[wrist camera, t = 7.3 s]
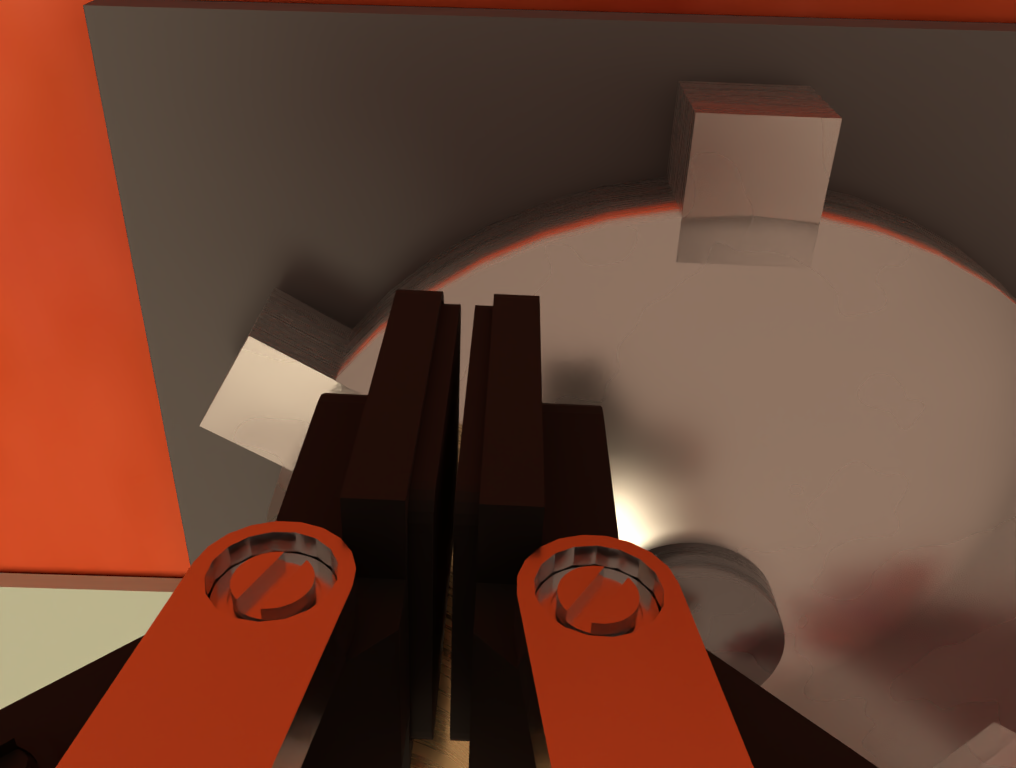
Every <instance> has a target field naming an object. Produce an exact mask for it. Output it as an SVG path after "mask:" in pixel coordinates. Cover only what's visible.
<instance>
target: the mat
mask: <svg viewBox="0 0 1016 768" xmlns="http://www.w3.org/2000/svg"><path fill="white" fill-rule="evenodd" d="M181 580H182V578H154V577H121V576H88V575H55V574H22V573H0V709H2V708H4V707H6V706H8V705H10V704H12V703H14V702H16V701H18V700H20V699H21V698H23V697H25V696H27V695H29V694H31V693H33V692H35V691H37V690H39V689H41V688H43V687H45V686H47V685H49V684H50V683H52V682H54V681H56V680H58V679H60V678H62V677H64V676H66V675H68V674H70V673H72V672H74V671H76V670H78V669H79V668H81V667H83V666H85V665H87V664H89V663H91V662H93V661H95V660H97V659H99V658H101V657H103V656H105V655H107V654H108V653H110V652H112V651H114V650H116V649H118V648H120V647H122V646H124V645H126V644H128V643H130V642H132V641H134V640H136V639H138V638H139V637H141V636H143V635H145V634H146V632H147V631H148V629H149V628H150V626H151V625H152V623H153V622H154V620H155V619H156V617H157V616H158V614H159V613H160V611H161V610H162V608H163V607H164V605H165V604H166V602H167V601H168V599H169V598H170V596H171V595H172V593H173V592H174V590H175V589H176V587H177V586H178V584H179V583H180V581H181Z"/></svg>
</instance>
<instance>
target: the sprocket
mask: <svg viewBox="0 0 1016 768" xmlns="http://www.w3.org/2000/svg"><path fill="white" fill-rule="evenodd" d="M841 121H842V118H841V117H840V116H839V115H838V114H837V113H836V112H835V111H834V110H833V109H832V108H831V107H830V106H829V105H828V104H827V103H826V102H825V101H824V100H823V99H822V98H821V97H820V96H819V95H818V94H817V93H816V92H815V91H814V90H813V89H812V88H811V87H810V86H799V85H774V84H749V83H724V82H699V81H678V89H677V97H676V105H675V113H674V121H673V130H672V138H671V146H670V154H669V162H668V170H667V177H659V178H653V179H646V180H639V181H633V182H626V183H619V184H612V185H606V186H601V187H597V188H594V189H590V190H586V191H583V192H579V193H576V194H572V195H568V196H565V197H561V198H558V199H554V200H551V201H547V202H543V203H541V204H538V205H536V206H533V207H531V208H529V209H526V210H524V211H521V212H519V213H517V214H514V215H512V216H510V217H507V218H505V219H502V220H500V221H498V222H495V223H493V224H491V225H488V226H486V227H484V228H482V229H480V230H479V231H477V232H475V233H474V234H472V235H470V236H468V237H467V238H465V239H463V240H462V241H460V242H458V243H456V244H455V245H453V246H451V247H449V248H448V249H446V250H444V251H443V252H441V253H439V254H437V255H436V256H434V257H433V258H431V259H430V260H429V261H428V262H426V263H425V264H424V265H422V266H421V267H420V268H419V269H417V270H416V271H415V272H413V273H412V274H411V275H410V276H408V277H407V278H406V279H404V280H403V281H402V282H401V283H399V284H398V285H397V286H395V287H394V288H393V289H391V290H390V291H389V292H388V293H387V294H386V295H385V296H384V297H383V298H382V299H381V300H380V301H379V302H378V304H377V305H376V306H375V307H374V308H373V309H372V310H371V311H370V312H369V313H368V314H367V315H366V316H365V317H364V318H363V319H362V320H361V321H360V322H359V323H358V324H357V325H356V326H355V327H354V328H353V329H352V328H350V327H348V326H346V325H344V324H342V323H340V322H339V321H337V320H335V319H333V318H331V317H329V316H327V315H326V314H324V313H322V312H320V311H318V310H316V309H314V308H312V307H311V306H309V305H307V304H305V303H303V302H301V301H299V300H298V299H296V298H294V297H292V296H290V295H288V294H286V293H284V292H283V291H281V290H279V289H277V288H274V289H273V291H272V293H271V295H270V297H269V298H268V300H267V302H266V304H265V306H264V308H263V309H262V311H261V313H260V315H259V317H258V318H257V320H256V322H255V324H254V326H253V328H252V329H251V331H250V333H249V335H248V337H247V338H246V340H245V342H244V344H243V346H242V347H241V349H240V351H239V353H238V355H237V357H236V358H235V360H234V362H233V364H232V366H231V367H230V369H229V371H228V373H227V375H226V377H225V379H224V381H223V382H222V384H221V386H220V388H219V390H218V392H217V394H216V396H215V398H214V399H213V401H212V403H211V405H210V407H209V409H208V411H207V413H206V415H205V416H204V418H203V420H202V422H201V424H200V427H203V428H205V429H207V430H209V431H211V432H213V433H215V434H217V435H219V436H221V437H223V438H225V439H227V440H229V441H231V442H234V443H236V444H238V445H240V446H242V447H244V448H246V449H248V450H250V451H252V452H254V453H256V454H258V455H260V456H262V457H264V458H267V459H269V460H271V461H273V462H275V463H277V464H279V465H281V466H282V468H281V472H280V475H279V478H278V481H277V484H276V487H275V491H274V494H273V497H272V500H271V503H270V506H269V509H268V515H267V522H266V523H268V522H275V521H276V519H277V516H278V513H279V510H280V507H281V505H282V502H283V499H284V496H285V493H286V490H287V488H288V485H289V482H290V479H291V476H292V473H293V470H294V468H295V465H296V462H297V459H298V456H299V453H300V451H301V448H302V445H303V442H304V439H305V436H306V433H307V431H308V428H309V425H310V422H311V419H312V416H313V414H314V411H315V408H316V405H317V402H318V400H319V398H320V396H321V394H323V393H338V394H359V395H368V392H369V388H370V385H371V381H372V377H373V374H374V370H375V366H376V363H377V359H378V355H379V351H380V348H381V344H382V340H383V337H384V333H385V329H386V326H387V322H388V318H389V315H390V311H391V307H392V304H393V300H394V296H395V292H396V290H397V289H402V290H424V291H443V293H444V304H461V344H460V394H459V445H458V462H459V452H460V443H461V433H462V424H463V414H464V405H465V395H466V386H467V376H468V367H469V358H470V348H471V339H472V329H473V320H474V310H475V305H485V306H493V299H494V294H510V295H531V296H540V329H541V372H542V403H556V404H578V405H600V406H601V407H602V409H603V414H604V421H605V430H606V438H607V446H608V454H609V462H610V470H611V478H612V486H613V495H614V503H615V511H616V519H617V527H618V535H619V539H621V540H624V541H628V542H631V543H633V544H635V545H637V546H639V547H641V548H643V549H645V550H647V551H649V552H652V553H653V554H654V555H655V556H656V557H657V558H659V559H660V560H661V561H662V562H663V563H664V564H666V565H667V566H668V567H669V569H670V570H671V572H672V573H673V575H674V576H675V578H676V580H677V581H678V583H679V585H680V587H681V590H682V592H683V595H684V597H685V599H686V602H687V604H688V607H689V609H690V612H691V614H692V617H693V619H694V622H695V624H696V627H697V629H698V632H699V634H700V636H701V639H702V641H703V644H704V646H705V649H707V650H708V651H710V652H711V653H713V654H714V655H716V656H717V657H718V658H720V659H721V660H723V661H724V662H726V663H727V664H729V665H730V666H732V667H733V668H734V669H736V670H737V671H739V672H740V673H742V674H743V675H745V676H746V677H748V678H749V679H750V680H752V681H753V682H755V683H756V684H758V685H759V686H761V687H762V688H764V689H765V690H766V691H768V692H769V693H771V694H772V695H774V696H775V697H777V698H778V699H780V700H781V701H782V702H784V703H785V704H787V705H788V706H790V707H791V708H793V709H794V710H796V711H797V712H798V713H800V714H801V715H803V716H804V717H806V718H807V719H809V720H810V721H812V722H813V723H814V724H816V725H817V726H819V727H820V728H822V729H823V730H825V731H826V732H828V733H829V734H830V735H832V736H833V737H835V738H836V739H838V740H839V741H841V742H842V743H844V744H845V745H846V746H848V747H849V748H851V749H852V750H854V751H855V752H857V753H858V754H860V755H861V756H862V757H864V758H865V759H867V760H868V761H870V762H871V763H873V764H874V765H876V766H877V767H878V768H1016V298H1015V297H1014V296H1013V295H1012V294H1011V293H1010V292H1009V291H1008V290H1007V289H1006V288H1005V287H1004V286H1003V285H1002V284H1001V283H1000V282H999V281H998V280H997V279H996V278H995V277H993V276H992V275H991V274H990V273H988V272H987V271H986V270H985V269H984V268H982V267H981V266H980V265H979V264H977V263H976V262H975V261H974V260H972V259H971V258H970V257H969V256H967V255H966V254H965V253H964V252H963V251H961V250H960V249H959V248H958V247H956V246H955V245H954V244H952V243H950V242H948V241H947V240H945V239H943V238H941V237H940V236H938V235H936V234H934V233H933V232H931V231H929V230H928V229H926V228H924V227H922V226H921V225H919V224H917V223H915V222H914V221H912V220H910V219H908V218H907V217H904V216H902V215H899V214H897V213H894V212H892V211H889V210H887V209H884V208H881V207H879V206H876V205H874V204H871V203H869V202H866V201H864V200H861V199H859V198H856V197H854V196H851V195H846V194H842V193H838V192H834V191H830V190H827V187H828V183H829V178H830V173H831V168H832V164H833V159H834V154H835V150H836V145H837V140H838V136H839V131H840V126H841ZM452 582H453V552H452V562H451V572H450V582H449V592H448V602H447V612H446V621H445V631H444V641H443V651H442V661H441V671H440V681H439V691H438V701H437V710H436V720H435V730H434V737H433V740H426V739H414V740H413V749H412V757H411V765H410V768H469V742H470V741H450V696H451V639H452Z"/></svg>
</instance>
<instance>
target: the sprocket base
mask: <svg viewBox="0 0 1016 768" xmlns="http://www.w3.org/2000/svg"><path fill="white" fill-rule="evenodd" d="M83 7H84V12H85V18H86V23H87V28H88V33H89V38H90V44H91V49H92V54H93V59H94V65H95V70H96V75H97V80H98V85H99V91H100V96H101V101H102V106H103V112H104V117H105V122H106V127H107V132H108V138H109V143H110V148H111V153H112V159H113V164H114V169H115V174H116V179H117V185H118V190H119V195H120V200H121V205H122V211H123V216H124V221H125V226H126V232H127V237H128V242H129V247H130V252H131V258H132V263H133V268H134V273H135V279H136V284H137V289H138V294H139V299H140V305H141V310H142V315H143V320H144V326H145V331H146V336H147V341H148V346H149V352H150V357H151V362H152V367H153V372H154V378H155V383H156V388H157V393H158V399H159V404H160V409H161V414H162V419H163V425H164V430H165V435H166V440H167V446H168V451H169V456H170V461H171V466H172V472H173V477H174V482H175V487H176V492H177V498H178V503H179V508H180V513H181V519H182V524H183V529H184V534H185V539H186V545H187V550H188V555H189V560H190V566H191V565H192V564H193V562H194V561H195V560H196V559H197V558H198V557H199V556H200V555H201V553H202V552H203V551H204V550H205V549H206V548H207V547H208V546H209V545H211V544H213V543H214V542H216V541H217V540H219V539H220V538H222V537H224V536H225V535H227V534H228V533H231V532H234V531H237V530H240V529H242V528H245V527H248V526H251V525H255V524H262V523H266V522H267V515H268V509H269V506H270V503H271V500H272V497H273V494H274V491H275V487H276V484H277V481H278V478H279V475H280V472H281V468H282V466H281V465H279V464H277V463H275V462H273V461H271V460H269V459H267V458H264V457H262V456H260V455H258V454H256V453H254V452H252V451H250V450H248V449H246V448H244V447H242V446H240V445H238V444H236V443H234V442H231V441H229V440H227V439H225V438H223V437H221V436H219V435H217V434H215V433H213V432H211V431H209V430H207V429H205V428H203V427H200V424H201V422H202V420H203V418H204V416H205V415H206V413H207V411H208V409H209V407H210V405H211V403H212V401H213V399H214V398H215V396H216V394H217V392H218V390H219V388H220V386H221V384H222V382H223V381H224V379H225V377H226V375H227V373H228V371H229V369H230V367H231V366H232V364H233V362H234V360H235V358H236V357H237V355H238V353H239V351H240V349H241V347H242V346H243V344H244V342H245V340H246V338H247V337H248V335H249V333H250V331H251V329H252V328H253V326H254V324H255V322H256V320H257V318H258V317H259V315H260V313H261V311H262V309H263V308H264V306H265V304H266V302H267V300H268V298H269V297H270V295H271V293H272V291H273V289H274V288H277V289H279V290H281V291H283V292H284V293H286V294H288V295H290V296H292V297H294V298H296V299H298V300H299V301H301V302H303V303H305V304H307V305H309V306H311V307H312V308H314V309H316V310H318V311H320V312H322V313H324V314H326V315H327V316H329V317H331V318H333V319H335V320H337V321H339V322H340V323H342V324H344V325H346V326H348V327H350V328H352V329H353V328H354V327H355V326H356V325H357V324H358V323H359V322H360V321H361V320H362V319H363V318H364V317H365V316H366V315H367V314H368V313H369V312H370V311H371V310H372V309H373V308H374V307H375V306H376V305H377V304H378V302H379V301H380V300H381V299H382V298H383V297H384V296H385V295H386V294H387V293H388V292H389V291H390V290H391V289H393V288H394V287H395V286H397V285H398V284H399V283H401V282H402V281H403V280H404V279H406V278H407V277H408V276H410V275H411V274H412V273H413V272H415V271H416V270H417V269H419V268H420V267H421V266H422V265H424V264H425V263H426V262H428V261H429V260H430V259H431V258H433V257H434V256H436V255H437V254H439V253H441V252H443V251H444V250H446V249H448V248H449V247H451V246H453V245H455V244H456V243H458V242H460V241H462V240H463V239H465V238H467V237H468V236H470V235H472V234H474V233H475V232H477V231H479V230H480V229H482V228H484V227H486V226H488V225H491V224H493V223H495V222H498V221H500V220H502V219H505V218H507V217H510V216H512V215H514V214H517V213H519V212H521V211H524V210H526V209H529V208H531V207H533V206H536V205H538V204H541V203H543V202H547V201H551V200H554V199H558V198H561V197H565V196H568V195H572V194H576V193H579V192H583V191H586V190H590V189H594V188H597V187H601V186H606V185H612V184H619V183H626V182H633V181H639V180H646V179H653V178H659V177H667V170H668V162H669V154H670V146H671V138H672V130H673V121H674V113H675V105H676V97H677V89H678V81H699V82H724V83H749V84H774V85H799V86H810V87H811V88H812V89H813V90H814V91H815V92H816V93H817V94H818V95H819V96H820V97H821V98H822V99H823V100H824V101H825V102H826V103H827V104H828V105H829V106H830V107H831V108H832V109H833V110H834V111H835V112H836V113H837V114H838V115H839V116H840V117H841V118H842V121H841V126H840V131H839V136H838V140H837V145H836V150H835V154H834V159H833V164H832V168H831V173H830V178H829V183H828V187H827V190H830V191H834V192H838V193H842V194H846V195H851V196H854V197H856V198H859V199H861V200H864V201H866V202H869V203H871V204H874V205H876V206H879V207H881V208H884V209H887V210H889V211H892V212H894V213H897V214H899V215H902V216H904V217H907V218H908V219H910V220H912V221H914V222H915V223H917V224H919V225H921V226H922V227H924V228H926V229H928V230H929V231H931V232H933V233H934V234H936V235H938V236H940V237H941V238H943V239H945V240H947V241H948V242H950V243H952V244H954V245H955V246H956V247H958V248H959V249H960V250H961V251H963V252H964V253H965V254H966V255H967V256H969V257H970V258H971V259H972V260H974V261H975V262H976V263H977V264H979V265H980V266H981V267H982V268H984V269H985V270H986V271H987V272H988V273H990V274H991V275H992V276H993V277H995V278H996V279H997V280H998V281H999V282H1000V283H1001V284H1002V285H1003V286H1004V287H1005V288H1006V289H1007V290H1008V291H1009V292H1010V293H1011V294H1012V295H1013V296H1014V297H1015V298H1016V23H984V22H949V21H913V20H877V19H841V18H806V17H770V16H734V15H698V14H663V13H627V12H591V11H555V10H520V9H484V8H448V7H412V6H377V5H341V4H305V3H269V2H234V1H198V0H94V1H92V2H89V3H87V4H85V5H83Z"/></svg>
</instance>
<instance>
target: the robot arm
mask: <svg viewBox="0 0 1016 768" xmlns="http://www.w3.org/2000/svg"><path fill="white" fill-rule="evenodd" d="M460 344H461V304H444V293H443V291H424V290H402V289H397V290H396V292H395V296H394V300H393V304H392V307H391V311H390V315H389V318H388V322H387V326H386V329H385V333H384V337H383V340H382V344H381V348H380V351H379V355H378V359H377V363H376V366H375V370H374V374H373V377H372V381H371V385H370V388H369V392H368V395H359V394H338V393H323V394H321V396H320V398H319V400H318V402H317V405H316V408H315V411H314V414H313V416H312V419H311V422H310V425H309V428H308V431H307V433H306V436H305V439H304V442H303V445H302V448H301V451H300V453H299V456H298V459H297V462H296V465H295V468H294V470H293V473H292V476H291V479H290V482H289V485H288V488H287V490H286V493H285V496H284V499H283V502H282V505H281V507H280V510H279V513H278V516H277V519H276V521H275V522H268V523H262V524H255V525H251V526H248V527H245V528H242V529H240V530H237V531H234V532H231V533H228V534H227V535H225V536H224V537H222V538H220V539H219V540H217V541H216V542H214V543H213V544H211V545H209V546H208V547H207V548H206V549H205V550H204V551H203V552H202V553H201V555H200V556H199V557H198V558H197V559H196V560H195V561H194V562H193V564H192V565H191V567H190V568H189V570H188V571H187V573H186V574H185V575H184V577H183V578H182V580H181V581H180V583H179V584H178V586H177V587H176V589H175V590H174V592H173V593H172V595H171V596H170V598H169V599H168V601H167V602H166V604H165V605H164V607H163V608H162V610H161V611H160V613H159V614H158V616H157V617H156V619H155V620H154V622H153V623H152V625H151V626H150V628H149V629H148V631H147V632H146V634H145V635H143V636H141V637H139V638H138V639H136V640H134V641H132V642H130V643H128V644H126V645H124V646H122V647H120V648H118V649H116V650H114V651H112V652H110V653H108V654H107V655H105V656H103V657H101V658H99V659H97V660H95V661H93V662H91V663H89V664H87V665H85V666H83V667H81V668H79V669H78V670H76V671H74V672H72V673H70V674H68V675H66V676H64V677H62V678H60V679H58V680H56V681H54V682H52V683H50V684H49V685H47V686H45V687H43V688H41V689H39V690H37V691H35V692H33V693H31V694H29V695H27V696H25V697H23V698H21V699H20V700H18V701H16V702H14V703H12V704H10V705H8V706H6V707H4V708H2V709H0V768H410V765H411V757H412V749H413V740H414V739H426V740H433V737H434V730H435V720H436V710H437V701H438V691H439V681H440V671H441V661H442V651H443V641H444V631H445V621H446V612H447V602H448V592H449V582H450V572H451V562H452V552H453V582H452V639H451V696H450V741H470V742H469V768H878V767H877V766H876V765H874V764H873V763H871V762H870V761H868V760H867V759H865V758H864V757H862V756H861V755H860V754H858V753H857V752H855V751H854V750H852V749H851V748H849V747H848V746H846V745H845V744H844V743H842V742H841V741H839V740H838V739H836V738H835V737H833V736H832V735H830V734H829V733H828V732H826V731H825V730H823V729H822V728H820V727H819V726H817V725H816V724H814V723H813V722H812V721H810V720H809V719H807V718H806V717H804V716H803V715H801V714H800V713H798V712H797V711H796V710H794V709H793V708H791V707H790V706H788V705H787V704H785V703H784V702H782V701H781V700H780V699H778V698H777V697H775V696H774V695H772V694H771V693H769V692H768V691H766V690H765V689H764V688H762V687H761V686H759V685H758V684H756V683H755V682H753V681H752V680H750V679H749V678H748V677H746V676H745V675H743V674H742V673H740V672H739V671H737V670H736V669H734V668H733V667H732V666H730V665H729V664H727V663H726V662H724V661H723V660H721V659H720V658H718V657H717V656H716V655H714V654H713V653H711V652H710V651H708V650H707V649H705V646H704V644H703V641H702V639H701V636H700V634H699V632H698V629H697V627H696V624H695V622H694V619H693V617H692V614H691V612H690V609H689V607H688V604H687V602H686V599H685V597H684V595H683V592H682V590H681V587H680V585H679V583H678V581H677V580H676V578H675V576H674V575H673V573H672V572H671V570H670V569H669V567H668V566H667V565H666V564H664V563H663V562H662V561H661V560H660V559H659V558H657V557H656V556H655V555H654V554H653V553H652V552H649V551H647V550H645V549H643V548H641V547H639V546H637V545H635V544H633V543H631V542H628V541H624V540H621V539H619V535H618V527H617V519H616V511H615V503H614V495H613V486H612V478H611V470H610V462H609V454H608V446H607V438H606V430H605V421H604V414H603V409H602V407H601V406H600V405H578V404H556V403H542V372H541V329H540V296H531V295H510V294H494V299H493V306H485V305H475V310H474V320H473V329H472V339H471V348H470V358H469V367H468V376H467V386H466V395H465V405H464V414H463V424H462V433H461V443H460V452H459V462H458V445H459V394H460Z"/></svg>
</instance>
